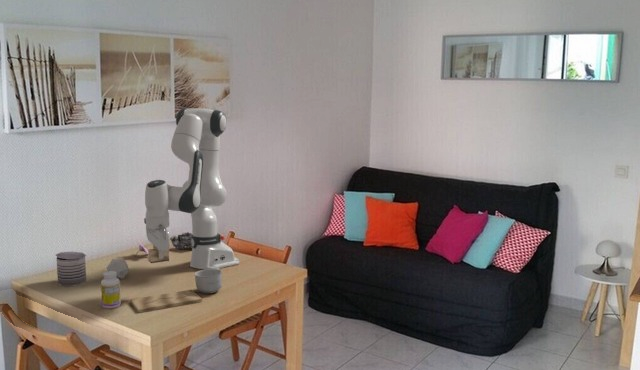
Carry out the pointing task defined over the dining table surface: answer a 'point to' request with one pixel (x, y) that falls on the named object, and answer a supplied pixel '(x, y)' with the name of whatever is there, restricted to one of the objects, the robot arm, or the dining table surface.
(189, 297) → the board
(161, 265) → the dining table surface
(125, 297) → the dining table surface
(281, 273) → the dining table surface
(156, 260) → the block
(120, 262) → the die
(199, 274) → the teacup
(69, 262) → the can
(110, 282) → the supplement bottle
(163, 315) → the dining table surface
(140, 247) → the lily
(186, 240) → the mineral specimen
